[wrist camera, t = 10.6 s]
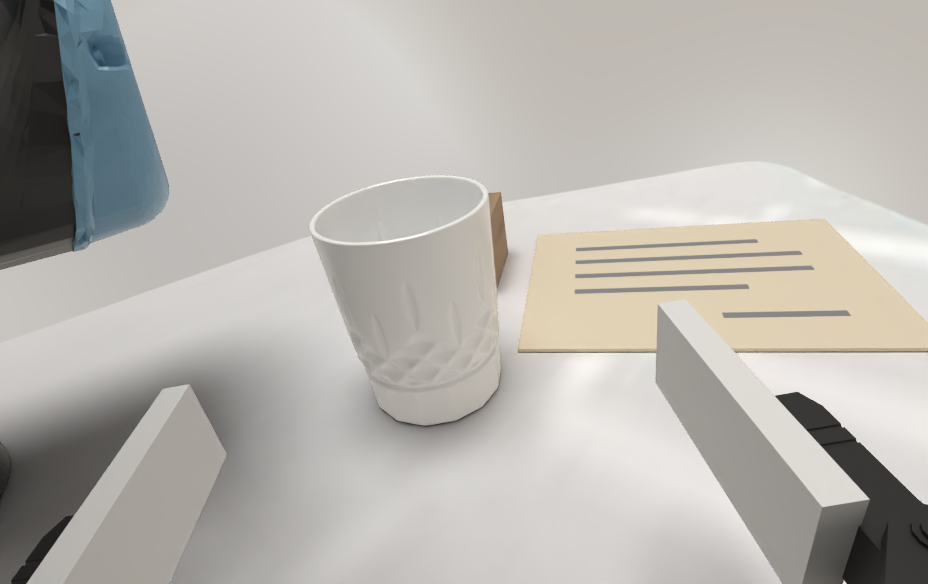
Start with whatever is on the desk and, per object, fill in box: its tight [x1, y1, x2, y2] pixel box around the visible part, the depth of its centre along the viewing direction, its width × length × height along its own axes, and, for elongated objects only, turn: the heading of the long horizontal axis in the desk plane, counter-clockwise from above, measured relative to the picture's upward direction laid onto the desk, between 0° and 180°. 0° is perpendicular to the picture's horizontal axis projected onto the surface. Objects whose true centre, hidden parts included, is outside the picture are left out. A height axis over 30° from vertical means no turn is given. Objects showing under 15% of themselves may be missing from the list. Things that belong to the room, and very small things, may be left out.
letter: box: [518, 219, 928, 352], centre depth 32 cm, size 20×15×1 cm
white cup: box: [309, 175, 501, 426], centre depth 25 cm, size 8×8×10 cm
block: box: [488, 192, 508, 287], centre depth 37 cm, size 6×6×5 cm
